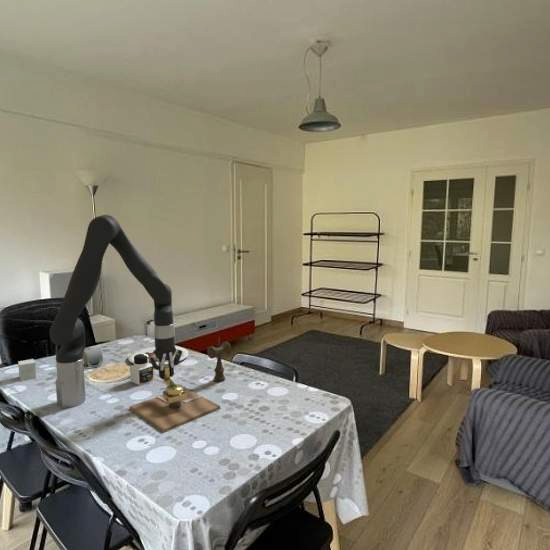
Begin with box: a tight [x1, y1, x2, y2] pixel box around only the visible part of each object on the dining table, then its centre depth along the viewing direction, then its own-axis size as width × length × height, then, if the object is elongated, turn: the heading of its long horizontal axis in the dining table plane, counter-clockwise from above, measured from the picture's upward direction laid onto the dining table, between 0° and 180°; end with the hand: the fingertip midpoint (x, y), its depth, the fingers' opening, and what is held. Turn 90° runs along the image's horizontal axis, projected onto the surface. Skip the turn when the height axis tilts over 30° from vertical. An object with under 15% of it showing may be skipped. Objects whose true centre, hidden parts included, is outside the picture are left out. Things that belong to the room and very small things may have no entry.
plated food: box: [127, 345, 189, 366], centre depth 203 cm, size 30×30×3 cm
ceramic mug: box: [83, 347, 104, 369], centre depth 192 cm, size 11×8×8 cm
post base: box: [129, 388, 221, 433], centre depth 148 cm, size 24×24×6 cm
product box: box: [17, 358, 37, 382], centre depth 176 cm, size 6×6×7 cm
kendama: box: [206, 336, 232, 382], centre depth 174 cm, size 6×10×20 cm, turn 134°
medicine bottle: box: [129, 354, 154, 386], centre depth 173 cm, size 7×7×12 cm
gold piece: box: [162, 364, 187, 404], centre depth 150 cm, size 15×9×9 cm, turn 32°
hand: (166, 377), depth 155 cm, fingers closed on gold piece, 3 cm apart
